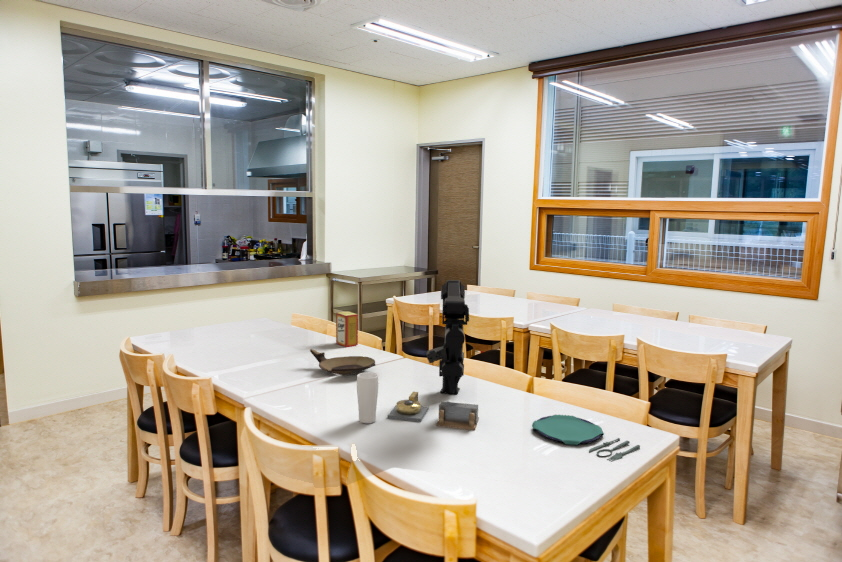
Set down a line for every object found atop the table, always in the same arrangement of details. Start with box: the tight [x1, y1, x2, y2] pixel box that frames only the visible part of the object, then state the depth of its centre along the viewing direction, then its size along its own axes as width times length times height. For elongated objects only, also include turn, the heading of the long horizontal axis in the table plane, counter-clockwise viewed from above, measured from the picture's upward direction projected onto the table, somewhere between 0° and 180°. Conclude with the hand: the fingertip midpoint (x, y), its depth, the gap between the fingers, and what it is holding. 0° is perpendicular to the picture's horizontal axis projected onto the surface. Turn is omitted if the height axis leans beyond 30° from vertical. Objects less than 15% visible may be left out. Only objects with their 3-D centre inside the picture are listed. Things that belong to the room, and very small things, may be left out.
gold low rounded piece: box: [396, 391, 422, 415], centre depth 185 cm, size 14×8×3 cm, turn 167°
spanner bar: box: [438, 401, 479, 425], centre depth 176 cm, size 12×4×5 cm, turn 77°
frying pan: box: [309, 348, 377, 376], centre depth 229 cm, size 22×30×8 cm
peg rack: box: [436, 409, 480, 431], centre depth 176 cm, size 9×12×5 cm
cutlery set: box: [531, 414, 641, 462], centre depth 166 cm, size 20×30×2 cm, turn 37°
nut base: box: [387, 404, 430, 423], centre depth 183 cm, size 11×11×1 cm
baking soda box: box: [335, 310, 359, 348], centre depth 273 cm, size 10×6×16 cm
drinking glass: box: [356, 371, 379, 425], centre depth 175 cm, size 7×7×15 cm
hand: (452, 387), depth 176 cm, fingers open, 9 cm apart
